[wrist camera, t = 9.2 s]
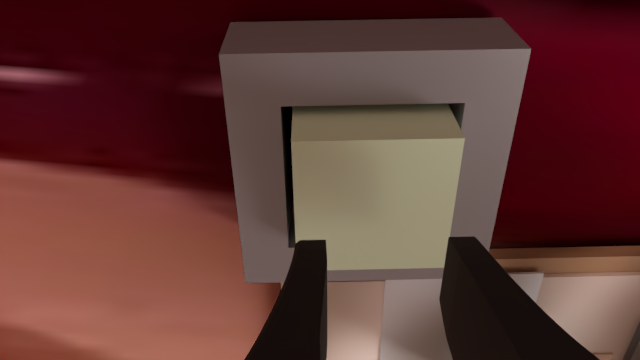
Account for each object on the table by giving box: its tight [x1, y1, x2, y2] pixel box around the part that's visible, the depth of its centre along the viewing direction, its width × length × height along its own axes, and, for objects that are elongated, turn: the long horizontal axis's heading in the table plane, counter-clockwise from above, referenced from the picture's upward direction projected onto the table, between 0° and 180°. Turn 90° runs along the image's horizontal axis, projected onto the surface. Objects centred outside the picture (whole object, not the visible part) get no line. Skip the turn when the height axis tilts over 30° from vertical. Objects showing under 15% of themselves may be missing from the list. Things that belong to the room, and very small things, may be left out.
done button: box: [291, 103, 465, 270], centre depth 16 cm, size 4×4×3 cm
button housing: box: [219, 17, 531, 283], centre depth 17 cm, size 8×8×3 cm
